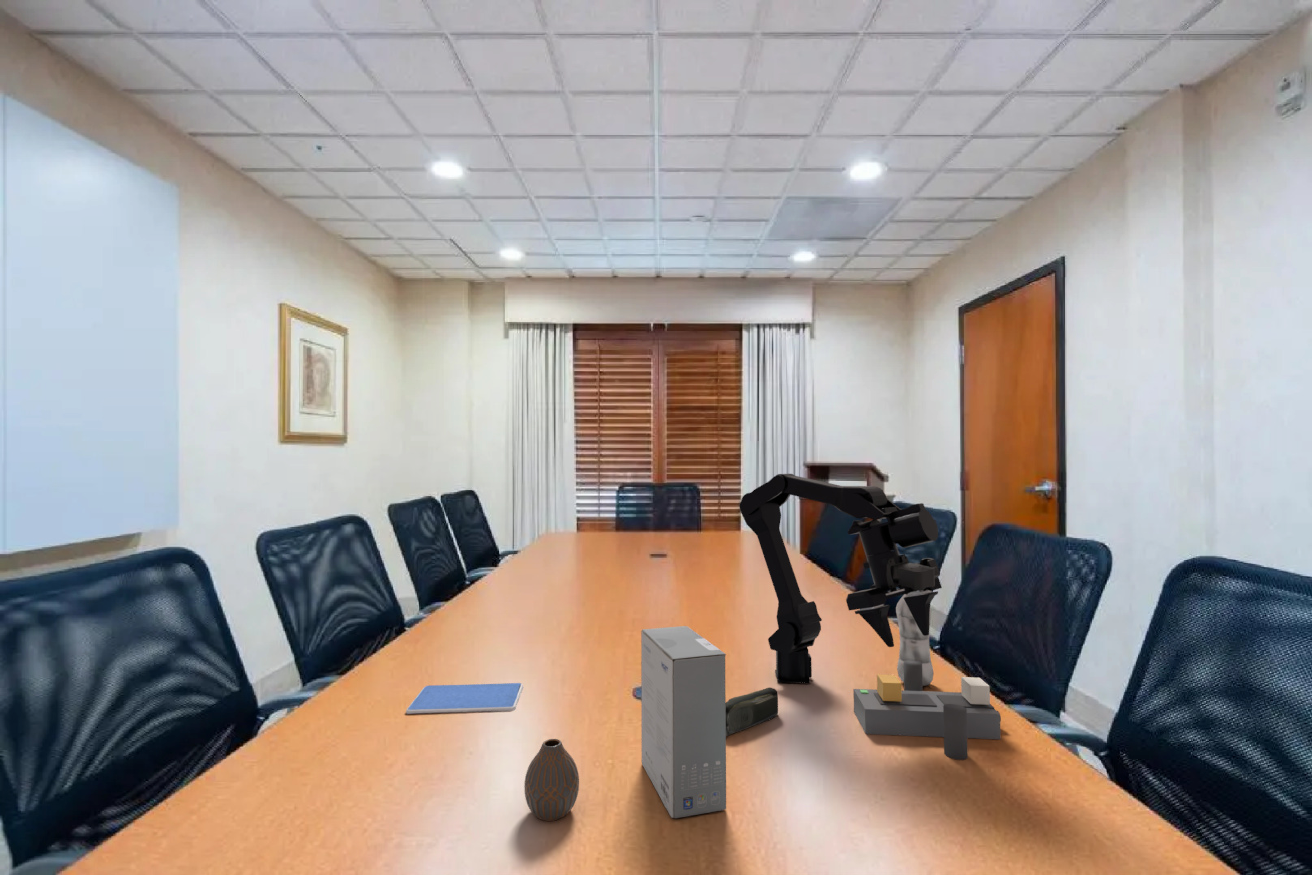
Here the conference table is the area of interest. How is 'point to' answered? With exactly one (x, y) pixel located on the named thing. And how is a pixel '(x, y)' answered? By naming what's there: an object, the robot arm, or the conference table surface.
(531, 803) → the vase
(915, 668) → the cylinder
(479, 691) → the tablet computer
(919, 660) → the plastic bottle
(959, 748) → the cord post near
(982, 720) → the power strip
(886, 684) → the toggle amber
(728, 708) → the dark green rounded bar
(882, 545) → the robot arm
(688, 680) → the hard drive box
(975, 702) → the toggle ivory
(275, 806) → the conference table surface
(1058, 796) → the conference table surface
